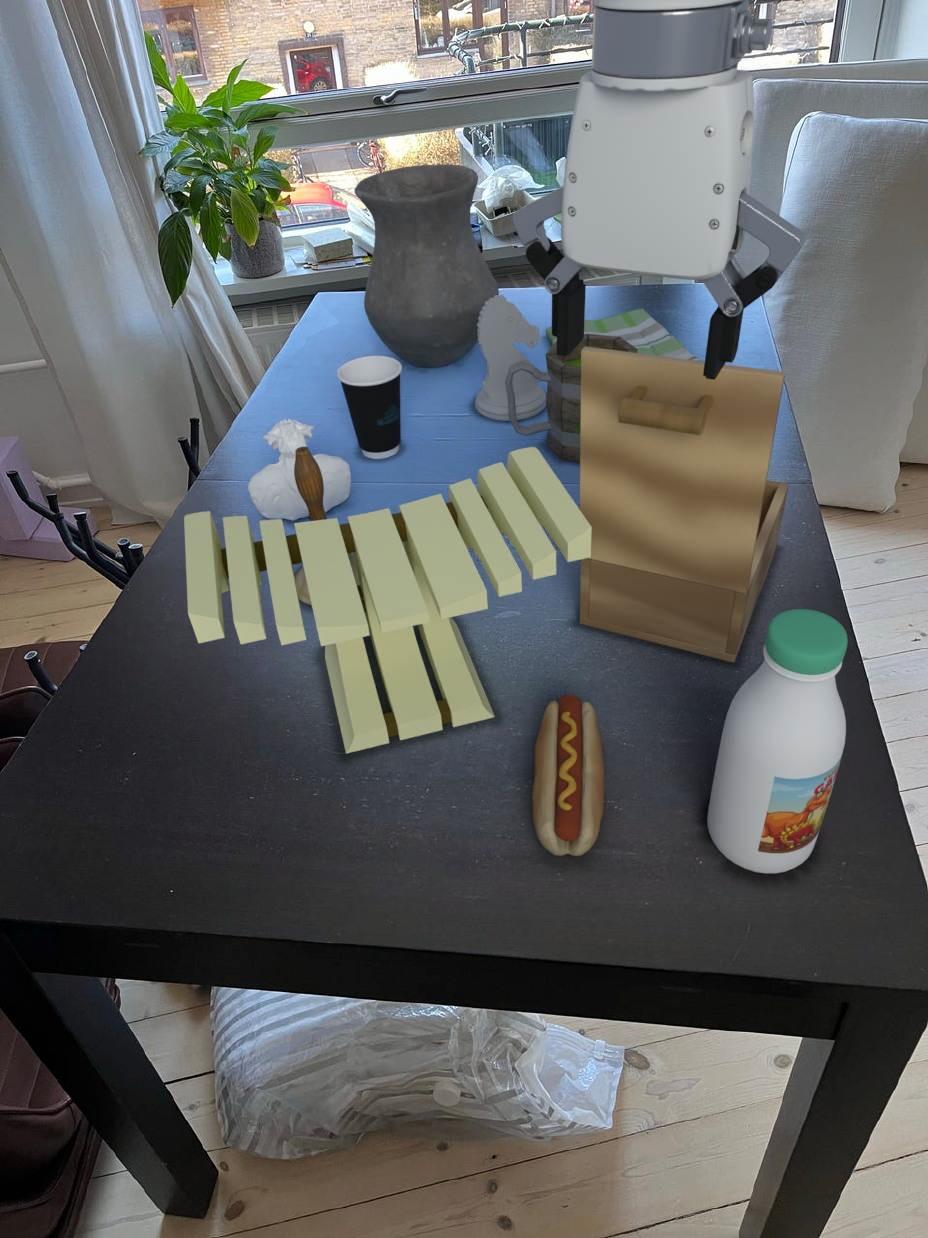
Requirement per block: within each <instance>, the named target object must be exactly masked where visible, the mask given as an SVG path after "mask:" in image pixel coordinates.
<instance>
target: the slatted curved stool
mask: <svg viewBox="0 0 928 1238" xmlns="http://www.w3.org/2000/svg"><path fill="white" fill-rule="evenodd" d="M477 471H478V472H477V487H476V486H475V483H474V482H473V480H472V478H471V477H470V478H467V479H464V480H460V481H458V482H455V483H452V484H449V485H448V502H445V500H444V499H445V498H444V497H443V495H442V493H437V494H434V495H430V496H427V497H424V498H420V499H417V500H413V501H410V502H406V503H403V504H399V505H398V512H396V513H395V512H394V513H392V512H391V510H390V508H389V507H387V508H383V509H378V510H375V511H370V512H365V513H359V514H353V515H348V516H347V523H342V524H340V523H339V519H338V517H333V518H327V519H325V520H317V521H310V520H309V521H301V522H300V521H299V522H294V524H293V525H294V529H295V533H292V534H288V535H287V533H286V530H285V526H284V521H283V519H263V520H259V521H258V522H259V527H260V535H261V540H259V541H255V539H254V535H253V532H252V528H251V524H250V521H249V517H248V515H233V516H223V517H222V523H223V524H222V525H223V533H224V543H225V547H224V548H223V546H222V542H221V539H220V536H219V533H218V529H217V526H216V523H215V520H214V518H213V516H212V513H211V511H208V510H207V511H199V512H193V513H192V512H191V513H187V514H185V515H184V516H183V521H184V523H183V524H184V525H183V526H184V550H185V552H184V553H185V572H186V573H185V574H186V575H185V577H186V597H187V599H186V601H187V615H188V618H189V620H190V624H191V626H192V628H193V632H194V635H195V638H196V641H197V644H203V643H207V642H212V641H216V640H220V639H225V638H226V637H225V636H226V635H225V626H224V625H225V624H224V612H223V611H224V610H223V596H222V595H223V594H224V593H227V592H229V591H230V600H231V609H232V610H231V611H232V620H233V624H234V627H235V631H236V634H237V637H238V640H239V644H240V645H245V644H249V643H254V642H258V641H262V640H267V633H266V627H265V620H264V612H263V604H262V597H261V588H260V587H261V586H263V580H262V573H261V572H266V571H267V576H268V577H267V579H268V583H269V589H270V597H271V602H272V607H273V609H272V610H273V616H274V621H275V625H276V630H277V634H278V638H279V642H280V645H281V646H286V645H291V644H294V643H299V642H303V641H307V634H306V630H305V625H304V620H303V614H302V610H301V605H300V600H299V599H298V594H297V583H296V578H295V577H296V573H295V569H294V566H295V565H300V564H302V567H304V571H305V576H306V580H307V585H308V590H309V594H310V599H311V603H312V606H311V607H312V612H313V617H314V621H315V626H316V630H317V635H318V639H319V642H320V643H319V644H320V646H321V647H324V659H325V665H326V669H327V673H328V678H329V682H330V688H331V692H332V696H333V697H332V698H333V701H334V705H335V710H336V715H337V718H338V719H337V720H338V723H339V728H340V733H341V738H342V741H343V742H342V743H343V746H344V750H345V751H344V752H345V754H350V753H355V752H358V751H359V752H360V751H362V750H363V751H364V750H366V749H371V748H375V747H379V746H383V745H387V744H390V739H389V738H392V737H396V736H398V739H399V741H403V740H408V739H411V738H416V737H421V736H424V735H427V734H432V733H435V732H440V731H443V730H444V729H443V725H446V724H449V723H451V725H452V727H453V728H457V727H460V726H464V725H468V724H472V723H477V722H480V721H485V720H489V719H493V718H496V716H495V713H494V711H493V708H492V706H491V704H490V701H489V699H488V697H487V694H486V692H485V689H484V687H483V685H482V682H481V680H480V677H479V675H478V672H477V669H476V667H475V666H474V663H473V660H472V658H471V655H470V653H469V650H468V648H467V645H466V643H465V641H464V638H463V636H462V634H461V630H460V628H459V627H458V625H457V623H456V622H455V620H454V617H459V616H462V615H466V614H467V615H468V614H472V613H475V612H480V611H484V610H485V611H486V610H488V609H489V607H488V605H489V604H488V591H487V588H486V585H485V583H484V581H483V580H482V577H481V575H480V573H479V571H478V569H477V567H476V565H475V562H474V561H473V558H472V556H471V554H470V552H469V550H471V549H472V550H473V552H474V553H475V555H476V557H477V558H478V560H479V562H480V563H481V566H482V568H483V569H484V571H485V572H486V573H485V574H487V577H488V579H489V580H490V582H491V585H492V586H493V589H494V590H495V592H496V594H497V597H498V598H500V597H505V596H509V595H514V594H519V593H522V592H523V582H522V571H521V569H520V567H519V565H518V564H517V562H516V560H515V558H514V556H513V553H512V552H511V550H510V548H509V547H508V545H507V543H506V541H505V539H504V537H503V536H502V535H503V534H504V535H505V536H506V537H507V539H508V541H509V542H510V543H511V545H512V546H513V548H514V549H515V551H516V553H517V554H518V556H519V557H520V559H521V561H522V563H523V564H524V566H525V568H526V569H527V571H528V572H529V575H530V576H531V579H532V580H534V581H535V580H539V579H543V578H547V577H552V576H556V575H557V550H556V548H555V547H554V545H553V544H552V542H551V540H552V541H553V542H554V544H555V545H556V547H557V548H558V550H559V551H560V552H561V554H562V556H563V557H564V559H565V560H566V562H567V563H571V562H576V561H581V559H585V558H590V557H591V531H592V527H591V525H590V524H589V523H588V521H587V520H586V518H585V517H584V515H583V514H582V512H581V511H580V507H578V505H577V504H576V502H575V501H574V499H573V498H572V497H571V494H569V492H568V491H567V490H566V488H565V486H564V485H563V483H562V482H561V480H560V479H559V478H558V477H557V475H556V473H555V472H554V471H553V469H552V468H551V466H550V464H549V463H548V462H547V460H546V459H545V457H544V456H543V455H542V453H541V452H540V450H539V449H538V448H537V447H535V446H528V447H522V448H519V449H516V450H512V451H509V453H508V455H507V461H506V467H505V465H504V463H503V462H502V461H501V462H496V463H493V464H491V465H488V466H485V467H482V468H479V469H478V470H477ZM543 528H544V529H545V530H546V532H547V533H548V535H549V536H550V538H551V540H550V539H549V537H548V536H547V534H546V532H545V530H544V529H543ZM348 553H352V554H353V556H354V558H355V562H356V568H357V573H358V579H359V584H360V585H358V586H357V585H356V582H355V578H354V575H353V571H352V568H351V565H350V561H349V558H348ZM414 626H417V628H418V632H419V635H420V639H421V641H422V644H423V647H424V650H425V652H426V655H427V658H428V661H429V663H430V666H431V669H432V671H433V675H434V677H435V680H436V684H437V686H438V689H439V691H440V695H441V697H442V699H441V700H437V699H436V697H435V694H434V690H433V688H432V685H431V681H430V679H429V676H428V672H427V669H426V667H425V664H424V660H423V657H422V653H421V650H420V648H419V644H418V641H417V638H416V634H415V630H414ZM369 636H370V640H371V644H372V648H373V652H374V655H375V658H376V661H377V666H378V668H379V672H380V675H381V679H382V682H383V686H384V689H385V693H386V696H387V699H388V704H389V706H390V711H391V712H385V713H383V709H382V706H381V702H380V698H379V694H378V691H377V688H376V682H375V680H374V676H373V673H372V669H371V665H370V661H369V657H368V653H367V649H366V645H365V642H364V638H365V637H369Z"/></svg>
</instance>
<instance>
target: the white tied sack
mask: <svg viewBox="0 0 928 1238" xmlns="http://www.w3.org/2000/svg"><path fill="white" fill-rule="evenodd" d="M314 429H315V426H314V425H308V424H306V423H302V422H300V421H298V420H296V419H291V418H288V419H286V418H284V419H283V420H280V421H278V422H276V423H275V424H274V426H273V427H272V429H271V430H269V431H268V432H267V433H266V434H265V435H263V436H262V439H263V440H264V441H266V442H267V443H268V445H269V446H270V447H271V446H272V450H275V451H276V450H278V452H279V453H280V454H279V457H278V462H276V463H269V464H267V465H265V466H263V468H261V470H260V471H258V472H256V473H255V474H253V475H252V477H251V478H250V480H249V481H248V484H247V488H246V489H247V491H248V493H249V496H250V500H251V502H253V504H254V506H255V509H257V511H258V512H259V513H260V514H261V515H262V516H263V517H264V518H266V519H268V520H274V519H282V520H283V519H284V520H287V521H297V520H298V519H303V518H308V517H309V511H308V508H307V505H306V504H305V502H304V500H303V499H302V497H301V495H300V493H299V491H298V488H297V485H296V481H295V476H294V466H295V458H296V453H295V451H296V449H297V448H299V447H307V448H308V443H309V442H310V441H309V439H308V438H307V437H309V438H312V437H313V433H312V432H313V431H314ZM312 456H313V457H314V459H315V460H316V462H317V464H318V466H319V468H320V470H321V474H322V478H323V485H324V495H323V507H324V511H325V514H326V513H327V512H329V511H330V510H331V509H333V508H334V507H336V506H338V505H340V504H342V503H344V502H345V501H347V500H348V498H349V497H350V493H351V489H352V473H351V466H350V464H349V462H347V461H345V459H344V458H341V457H339V456H334V455H333V456H332V455H329V454H327V453H317V454H314V455H313V454H312Z"/></svg>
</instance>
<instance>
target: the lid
mask: <svg viewBox="0 0 928 1238" xmlns="http://www.w3.org/2000/svg"><path fill="white" fill-rule="evenodd" d="M704 364H705V361H702V360H701V361H695V360H687V359H680V358H672V357H664V356H656V355H648V354H641V353H633V352H625V351H617V350H609V349H601V348H594V347H586V346H585V347H584V348H583V349H582V350H581V430H580V463H579V510H580V511H581V512H582V514H583V515H584V517H585V518H586V520H587V521H588V523H589V524H590V525H591V527H592V531H591V557H590V558H589V559H594V560H598V561H603V562H607V563H612V564H616V565H621V566H625V567H630V568H634V569H639V570H643V571H648V572H652V573H657V574H661V575H666V576H670V577H675V578H679V579H684V580H688V581H693V582H697V583H702V584H706V585H711V586H715V587H720V588H724V589H729V590H733V591H738V592H742V593H746V592H747V589H748V585H749V579H750V574H751V568H752V562H753V556H754V551H755V545H756V539H757V533H758V528H759V522H760V516H761V510H762V505H763V499H764V493H765V487H766V482H767V480H768V475H769V470H770V465H771V458H772V452H773V446H774V441H775V436H776V435H775V434H776V430H777V424H778V423H777V422H778V418H779V412H780V406H781V402H782V401H781V400H782V395H783V389H784V383H785V377H786V371H782V370H781V371H780V370H772V369H765V368H758V367H748V366H742V365H735V364H734V365H733V364H726V363H725V364H724V366H723V368H722V369H721V371H720V372H719V374H718V375H717V377H716V379H715V380H712V379H706V376H703V372H704Z"/></svg>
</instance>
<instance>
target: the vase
mask: <svg viewBox="0 0 928 1238" xmlns="http://www.w3.org/2000/svg"><path fill="white" fill-rule="evenodd" d="M478 183H479V176H478V173H477V172H476V171H475V169H473V168H470V167H468V166H465V165H460V164H452V163H445V164H444V163H443V164H422V165H421V164H420V165H410V166H402V167H399V168H395V169H389V170H385V171H381V172H378V173H375V174H372V175H369V176H367V177H365V178H363V179H362V180H360V181H359V182H358V183H357V185H356V186H355V188H354V194H355V196H356V197H357V198H358V199H359V200H360V201H361V202H362V204H363V205H364V206H365V207H366V209H367V210H368V211H369V213H370V215H371V216H372V219H373V223H374V243H373V244H374V245H373V250H372V251H373V252H372V257H371V263H370V267H369V271H368V276H367V281H366V286H365V292H364V300H363V306H364V312H365V314H366V317H367V319H368V320H367V321H368V322H369V324H370V326H371V328H372V330H374V332H375V334H376V335H377V337H378V338H379V339H380V340H381V341H382V343H383V344H384V345H385V347H387V349H388V350H389V351H391V352H392V353H393V354H394V355H395V356H397V357H398V358H400V359H401V360H403V361H405V362H406V363H408V364H411V365H413V366H416V367H419V368H420V367H421V368H440V367H446V366H447V365H452V364H454V363H456V362H458V361H460V360H461V359H463V357H465V356H466V355H467V354H468V353H470V352H471V351H472V349H474V348H475V347H476V345H477V344H478V343H479V342H478V335H477V334H478V331H477V330H478V326H477V324H478V322H479V321H478V317H479V316H480V311H481V310H482V307H483V306H484V305H485V301H488V300H489V299H490V298H494V296H495V295H498V296H500V291H499V284H498V281H497V279H495V276H493V274H492V272H491V270H490V268H489V265H488V263H487V261H486V260H485V257H484V255H483V254H482V252H481V250H480V247H479V245H478V242H477V240H476V238H475V235H474V232H473V228H472V222H471V221H472V220H471V208H472V205H473V199H474V195H475V193H476V189H477V186H478Z"/></svg>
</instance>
